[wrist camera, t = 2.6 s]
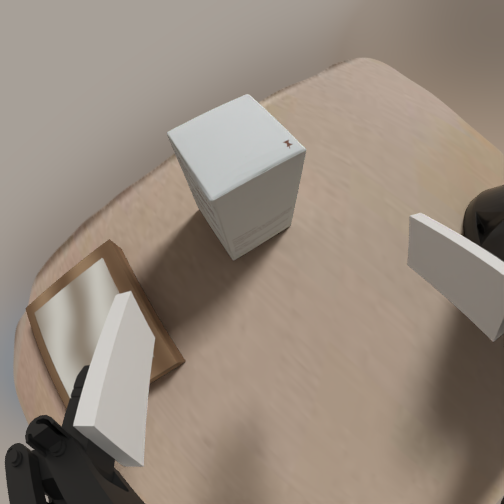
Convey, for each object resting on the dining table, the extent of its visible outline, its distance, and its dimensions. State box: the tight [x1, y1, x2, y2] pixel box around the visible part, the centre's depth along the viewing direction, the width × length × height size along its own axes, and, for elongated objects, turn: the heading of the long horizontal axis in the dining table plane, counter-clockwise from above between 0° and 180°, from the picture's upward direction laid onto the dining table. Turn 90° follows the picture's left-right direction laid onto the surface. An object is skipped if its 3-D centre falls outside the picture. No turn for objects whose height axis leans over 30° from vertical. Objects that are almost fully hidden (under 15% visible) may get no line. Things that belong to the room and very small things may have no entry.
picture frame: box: [26, 239, 185, 409], centre depth 25 cm, size 14×14×3 cm
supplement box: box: [167, 94, 306, 260], centre depth 24 cm, size 7×7×13 cm
